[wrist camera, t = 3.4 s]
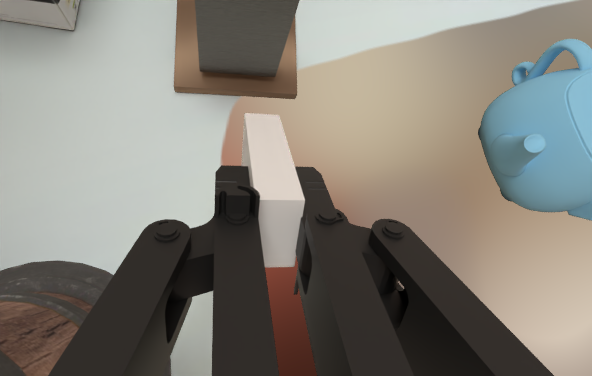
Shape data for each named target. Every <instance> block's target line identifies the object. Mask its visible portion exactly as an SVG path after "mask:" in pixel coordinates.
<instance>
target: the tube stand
mask: <svg viewBox="0 0 592 376" xmlns="http://www.w3.org/2000/svg"><path fill="white" fill-rule="evenodd" d="M174 89H175V92H187V93H203V94H220V95H236V96H252V97H269V98H285V99H295V98H296V96H297V71H296V36H295V16H294V19H293V22H292V26H291V29H290V32H289V35H288V38H287V41H286V45H285V48H284V51H283V54H282V57H281V61H280V64H279V67H278V70H277V73H276V76H275V77H267V76H253V75H239V74H225V73H211V72H200V69H199V55H198V40H197V26H196V11H195V0H177V21H176V47H175V72H174Z"/></svg>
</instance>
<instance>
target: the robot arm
mask: <svg viewBox="0 0 592 376" xmlns="http://www.w3.org/2000/svg"><path fill="white" fill-rule="evenodd" d="M296 256H297V261H298V270H297V276H296V283H295V288H294V294H297V292H298V288H299V291H300V296H301V300H302V305H303V310H304V315H305V320H306V324H307V329H308V333H309V339H310V343H311V348H312V353H313V357H314V362H315V367H316V372H317V376H554V375H553V374H552V373H551V372H550V371H549V370H548V369H547V368H546V367H545V366H544V365H543V364H542V363H541V362H540V361H539V360H538V359H537V358H536V357H535V356H534V355H533V354H532V353H531V352H530V351H529V350H528V349H527V348H526V347H525V346H524V345H523V343H521V341H520V340H519V339H518V338H517V337H516V336H515V335H514V334H513V333H512V332H511V331H510V330H509V329H508V328H507V327H506V326H505V325H504V324H503V323H502V322H501V321H500V320H499V319H498V318H497V317H496V316H495V315H494V314H493V313H492V312H491V311H490V310H489V309H488V308H487V307H486V306H485V305H484V304H483V303H482V302H481V301H480V300H479V299H478V298H477V296H475V294H474V293H473V292H472V291H471V290H470V289H468V287H467V286H466V285H465V284H464V283H463V282H462V281H461V280H460V279H459V278H458V277H457V276H456V275H455V274H454V273H453V272H452V271H451V270H450V269H449V268H448V267H447V266H446V265H445V264H444V263H443V262H442V261H441V260H440V259H439V258H438V257H437V256H436V255H435V254H434V253H433V252H432V251H431V249H429V247H428V246H427V245H426V244H425V243H424V242H423V241H422V240H421V239H420V238H419V237H418V236H417V235H416V234H415V233H414V232H413V231H412V230H411V229H410V228H409V227H407V226H406V225H405V224H403V223H401V222H398V221H396V220H392V219H380V220H378V221H376V222H375V223H374V224H373V225H372V228H371V229H369V228H365V227H360V226H356V225H353V224H350V223H349V222H348V219H347V217H346V216H345V215H344V213H342V212H341V211H339V210H338V209H335V208H334V205H333V203H332V200H331V198H330V195H329V193H328V190H327V188H326V185H325V183H324V180H323V178H322V175H321V174H320V173H319V172H318V171H317V170H316V169H315V168H313V167H295V166H294V163H293V159H292V156H291V153H290V149H289V147H288V143H287V139H286V136H285V133H284V130H283V126H282V123H281V120H280V116H279V115H270V114H251V113H245V115H244V134H243V152H242V166H222V165H221V167H220V168H219V169H218V170H217V171H216V180H215V213H214V216H213V218H212V219H211V220H210V221H209V222H208V223H206V224H204V225H202V226H199V227H195V228H191V229H190V228H189V226H188V225H186V224H185V223H183V222H181V221H177V220H167V219H165V220H160V221H156V222H154V223H152V224H150V225H148V226H147V227H146V228H145V229H144V230H143V232H142V233H141V235H140V236H139V238H138V239H137V241H136V242H135V244H134V245H133V247H132V248H131V250H130V251H129V253H128V254H127V256H126V258H125V259H124V261H123V262H122V264H121V265H120V267H119V268H118V270H117V271H116V273H115V274H114V276H113V277H112V279H111V280H110V282H109V283H108V285H107V286H106V288H105V289H104V291H103V293H102V294H101V296H100V297H99V299H98V300H97V302H96V303H95V305H94V306H93V308H92V309H91V311H90V312H89V314H88V315H87V317H86V318H85V320H84V321H83V323H82V324H81V326H80V327H79V329H78V331H77V332H76V334H75V335H74V337H73V338H72V340H71V341H70V343H69V344H68V346H67V347H66V349H65V350H64V352H63V353H62V355H61V356H60V358H59V359H58V361H57V362H56V364H55V366H54V367H53V369H52V370H51V372H50V373H49V375H48V376H163V373H164V370H165V368H166V365H167V363H168V360H169V358H170V355H171V353H172V350H173V348H174V345H175V343H176V340H177V337H178V335H179V332H180V330H181V327H182V325H183V322H184V320H185V317H186V315H187V312H188V310H189V307H190V304H191V302H192V297H193V296H197V295H200V294H203V293H207V292H210V291H213V342H212V376H279V371H278V364H277V356H276V349H275V341H274V334H273V326H272V318H271V311H270V303H269V295H268V288H267V280H266V273H265V267H294V265H295V259H296ZM398 281H400V283H401V284H402V285H403V286H404V289H403V288H402V287H401V286H400V285H399V283H398Z"/></svg>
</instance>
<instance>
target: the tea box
mask: <svg viewBox="0 0 592 376" xmlns="http://www.w3.org/2000/svg"><path fill="white" fill-rule="evenodd" d="M79 1H80V0H0V20H6V21H13V22H19V23H26V24H32V25H39V26H45V27H52V28H60V29H68V30H74V27H75V22H76V17H77V12H78V6H79Z"/></svg>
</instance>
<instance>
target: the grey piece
mask: <svg viewBox="0 0 592 376" xmlns="http://www.w3.org/2000/svg"><path fill="white" fill-rule="evenodd" d="M298 3H299V0H195V11H196V26H197V40H198V55H199V69H200V72H211V73H225V74H239V75H253V76H267V77H275V76H276V73H277V70H278V67H279V64H280V61H281V57H282V54H283V51H284V48H285V45H286V41H287V38H288V35H289V32H290V29H291V26H292V22H293V19H294V16H295V13H296V10H297V6H298Z"/></svg>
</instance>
